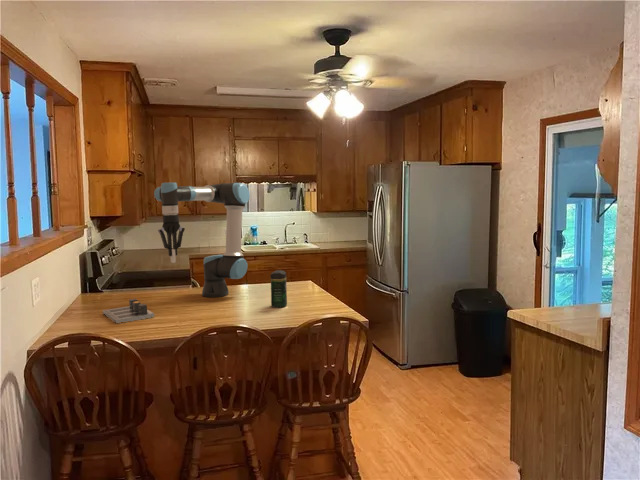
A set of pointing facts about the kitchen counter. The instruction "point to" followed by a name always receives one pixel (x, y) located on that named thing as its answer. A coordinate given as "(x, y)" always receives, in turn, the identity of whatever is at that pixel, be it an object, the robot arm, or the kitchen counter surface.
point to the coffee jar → (278, 289)
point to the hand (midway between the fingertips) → (173, 262)
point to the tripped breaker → (135, 305)
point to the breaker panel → (128, 313)
